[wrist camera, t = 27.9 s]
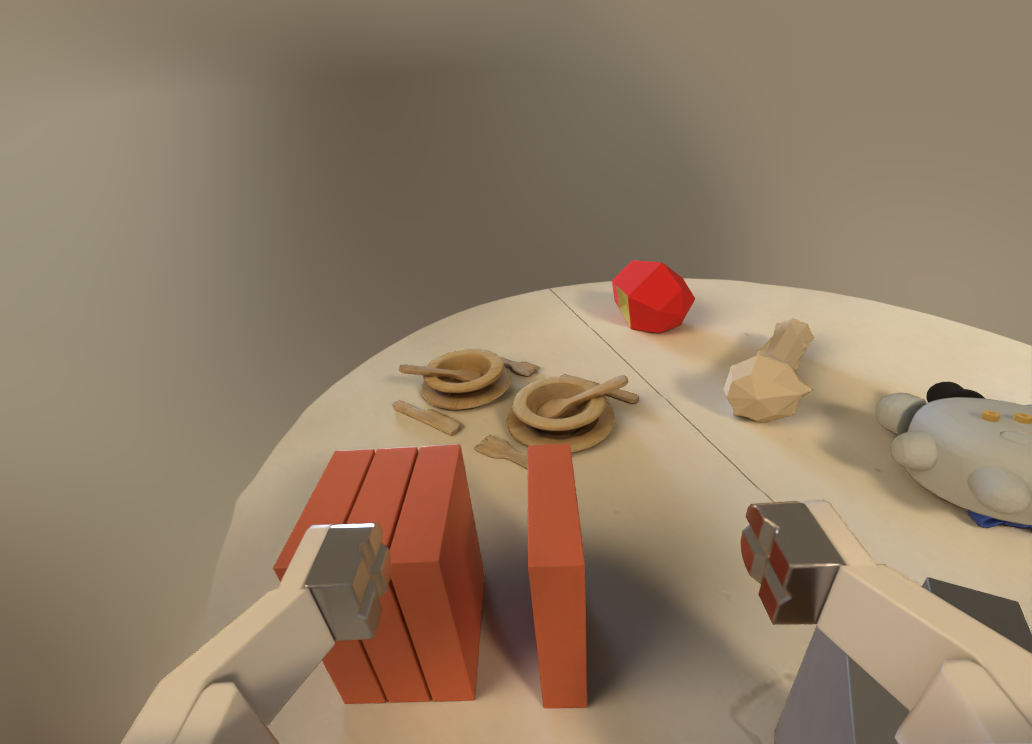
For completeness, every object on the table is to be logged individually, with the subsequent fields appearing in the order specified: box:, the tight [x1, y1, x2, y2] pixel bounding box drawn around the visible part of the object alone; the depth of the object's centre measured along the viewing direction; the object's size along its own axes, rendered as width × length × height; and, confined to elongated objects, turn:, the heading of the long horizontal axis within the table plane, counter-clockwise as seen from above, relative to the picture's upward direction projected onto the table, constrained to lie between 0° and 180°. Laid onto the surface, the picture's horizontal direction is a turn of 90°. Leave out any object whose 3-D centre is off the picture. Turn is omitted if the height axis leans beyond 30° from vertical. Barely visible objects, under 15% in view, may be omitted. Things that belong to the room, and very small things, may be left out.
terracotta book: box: [528, 443, 587, 708], centre depth 33 cm, size 10×3×15 cm, turn 179°
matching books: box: [273, 444, 485, 704], centre depth 34 cm, size 10×9×15 cm
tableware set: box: [393, 349, 639, 469], centre depth 63 cm, size 30×20×6 cm, turn 53°
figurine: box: [876, 382, 1032, 529], centre depth 46 cm, size 17×8×20 cm
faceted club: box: [724, 318, 814, 422], centre depth 62 cm, size 9×8×25 cm
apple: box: [612, 261, 695, 333], centre depth 80 cm, size 12×12×15 cm
